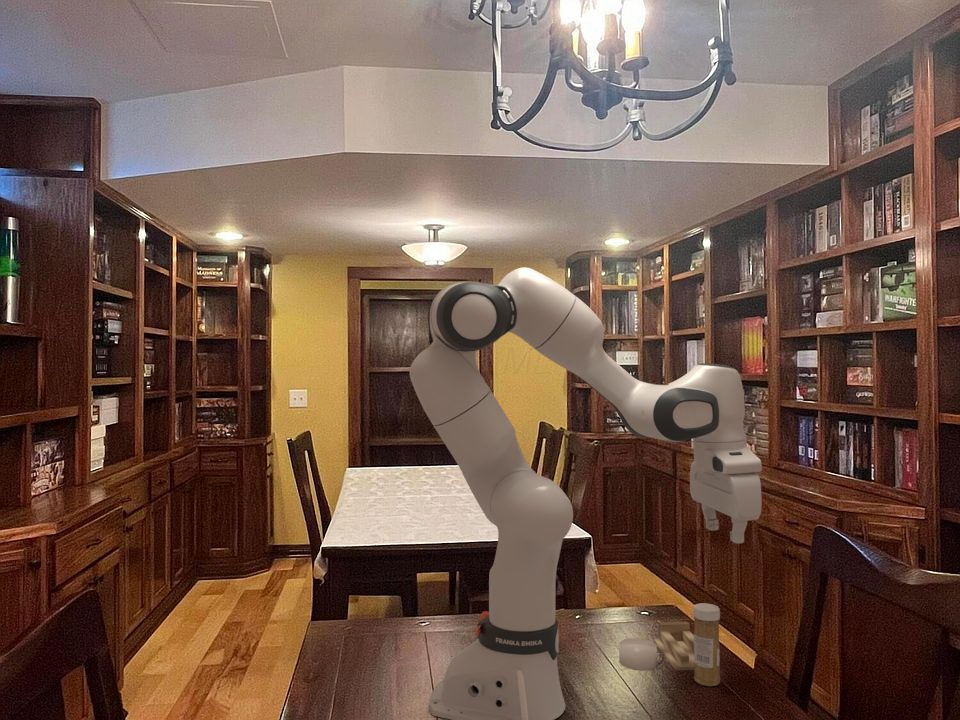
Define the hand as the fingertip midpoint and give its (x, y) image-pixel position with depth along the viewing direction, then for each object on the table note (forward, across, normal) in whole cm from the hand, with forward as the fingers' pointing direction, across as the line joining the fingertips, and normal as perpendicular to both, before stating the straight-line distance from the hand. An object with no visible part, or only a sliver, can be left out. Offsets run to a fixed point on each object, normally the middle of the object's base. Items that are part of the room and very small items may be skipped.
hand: (724, 535), depth 125 cm
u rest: (+27, -16, -2) cm, 32 cm away
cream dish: (+27, -14, -12) cm, 32 cm away
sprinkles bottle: (+27, -4, -3) cm, 28 cm away
